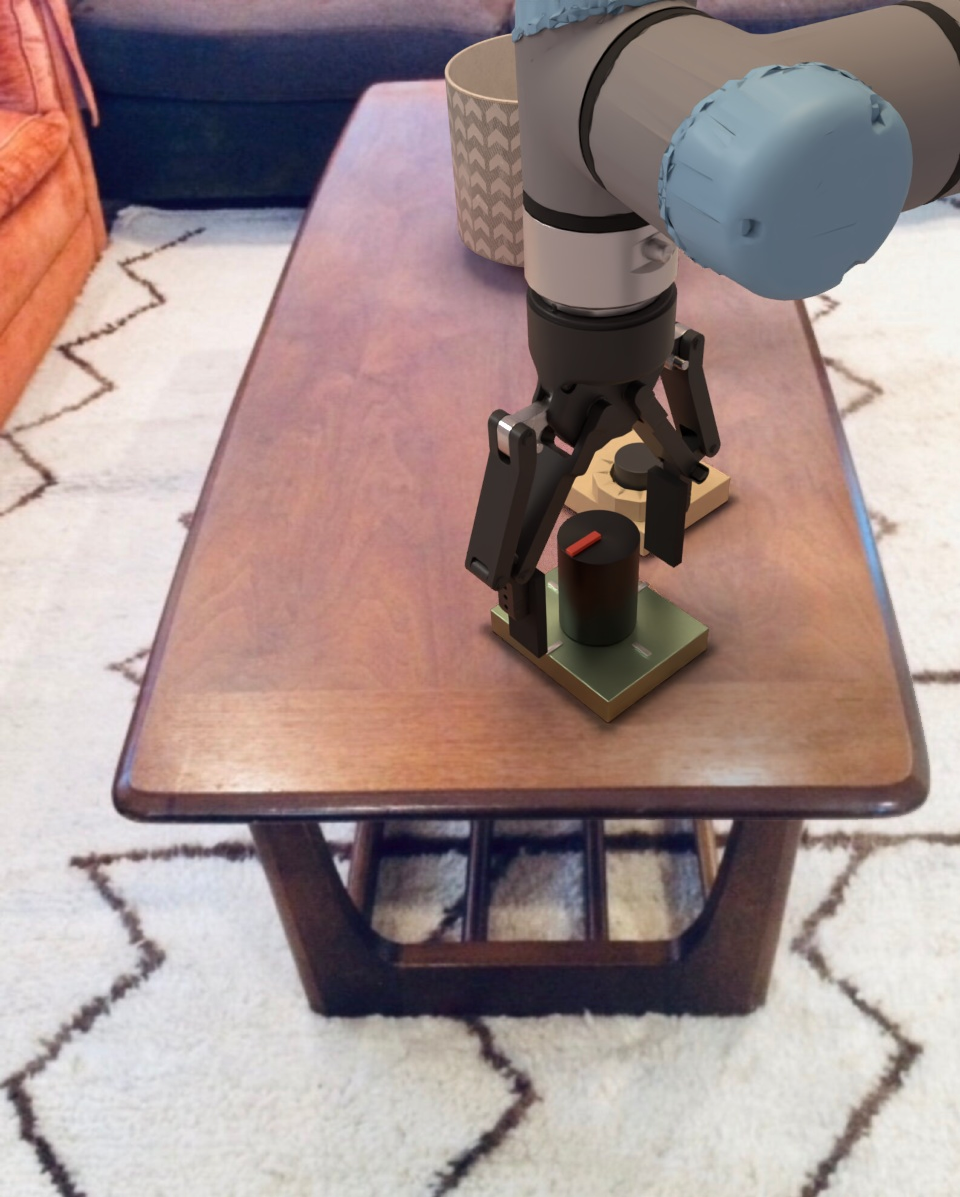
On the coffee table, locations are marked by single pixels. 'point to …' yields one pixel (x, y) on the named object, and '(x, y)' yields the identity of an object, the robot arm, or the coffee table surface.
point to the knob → (598, 576)
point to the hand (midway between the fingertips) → (597, 598)
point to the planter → (487, 149)
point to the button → (634, 466)
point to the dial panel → (615, 651)
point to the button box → (606, 494)
